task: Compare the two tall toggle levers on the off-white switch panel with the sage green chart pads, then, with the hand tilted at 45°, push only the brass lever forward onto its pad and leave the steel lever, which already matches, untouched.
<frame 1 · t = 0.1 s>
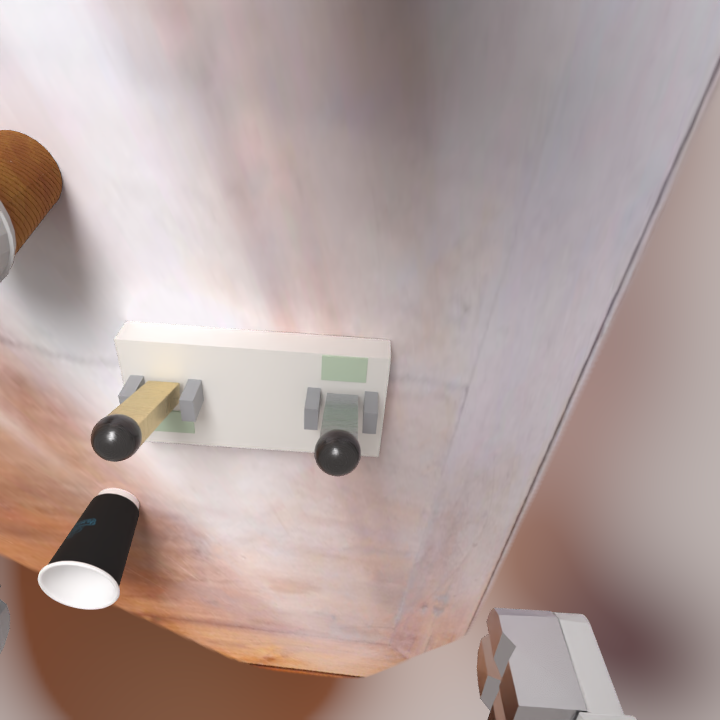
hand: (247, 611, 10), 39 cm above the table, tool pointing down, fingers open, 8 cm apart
switch panel: (260, 382, 56), on the table
steel lever: (339, 429, 46), point 10 cm above the table, hinge at -20.0°
dixie cup: (119, 500, 67), on the table
disposable coffee cup: (21, 171, 45), on the table
brass lever: (139, 415, 46), point 10 cm above the table, hinge at -20.0°
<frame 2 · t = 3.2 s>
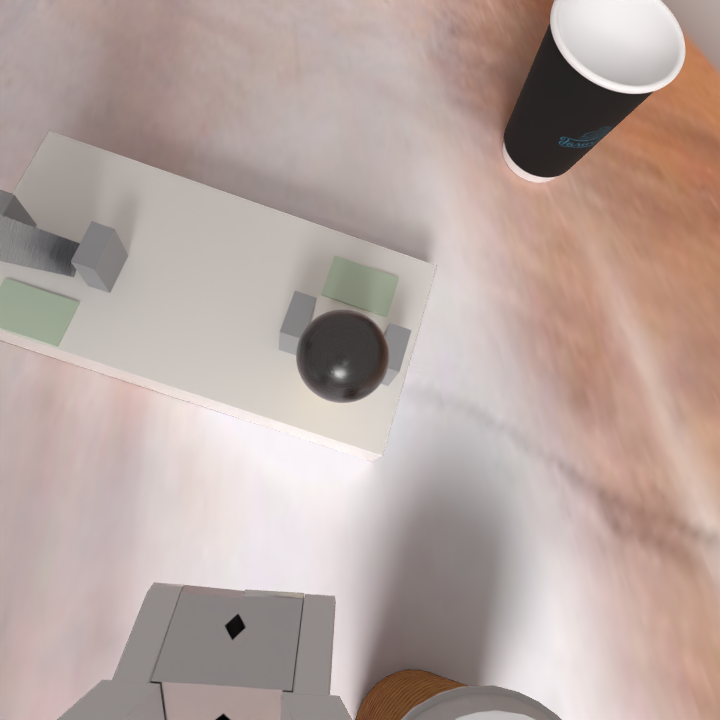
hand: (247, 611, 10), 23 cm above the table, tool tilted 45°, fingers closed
switch panel: (214, 306, 35), on the table
dixie cup: (532, 155, 42), on the table
brass lever: (341, 352, 25), point 10 cm above the table, hinge at -20.0°
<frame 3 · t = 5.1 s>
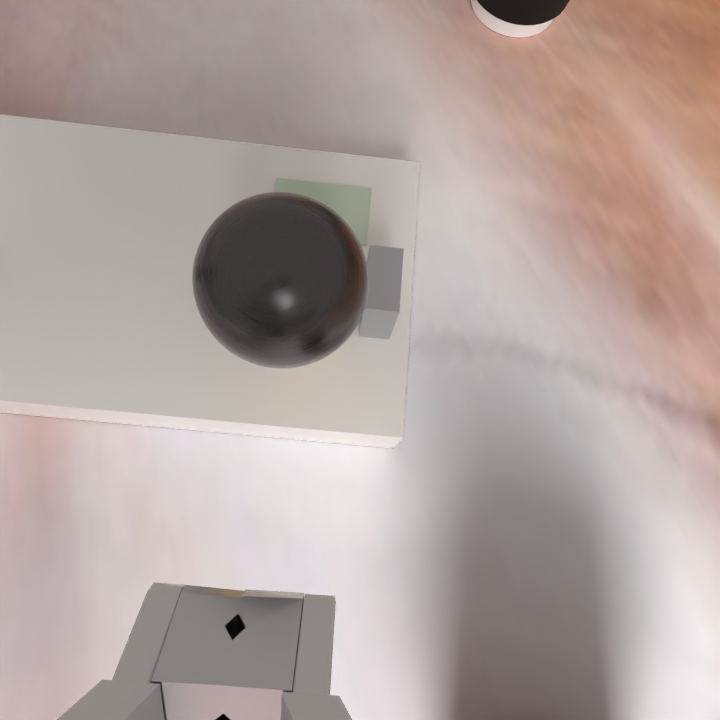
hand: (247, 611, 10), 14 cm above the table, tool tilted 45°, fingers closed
switch panel: (133, 288, 26), on the table
dixie cup: (512, 5, 32), on the table
brass lever: (298, 293, 16), point 10 cm above the table, hinge at -20.0°
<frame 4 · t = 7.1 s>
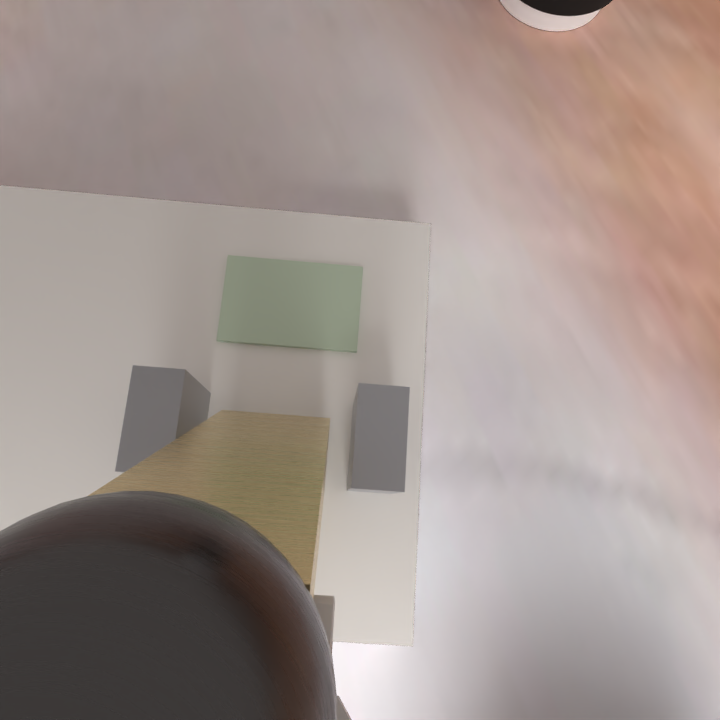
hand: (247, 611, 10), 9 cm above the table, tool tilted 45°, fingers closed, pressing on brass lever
switch panel: (42, 401, 19), on the table
brass lever: (228, 526, 9), point 10 cm above the table, hinge at -16.3°, touching gripper
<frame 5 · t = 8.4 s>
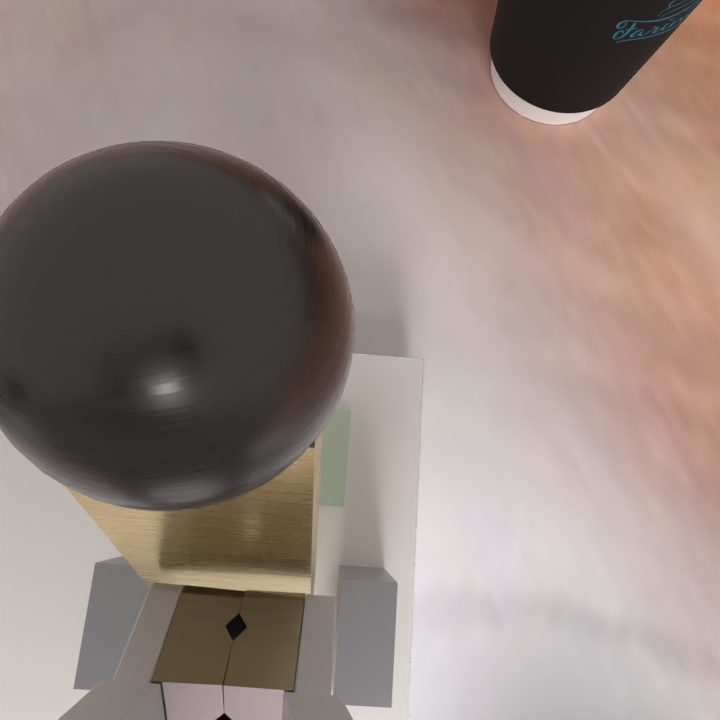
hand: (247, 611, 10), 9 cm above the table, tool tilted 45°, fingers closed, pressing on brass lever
switch panel: (11, 540, 18), on the table
dixie cup: (547, 76, 23), on the table
brass lever: (228, 503, 9), point 10 cm above the table, hinge at 21.6°, touching gripper
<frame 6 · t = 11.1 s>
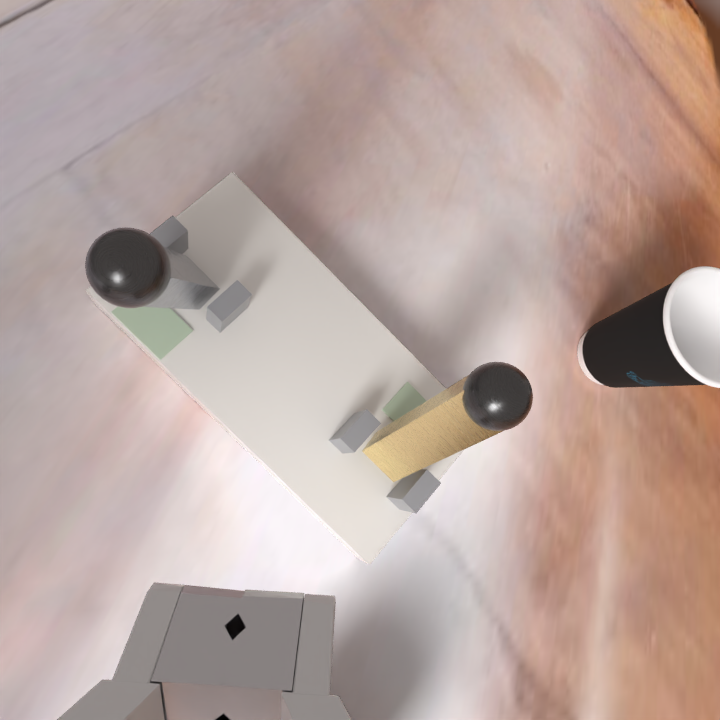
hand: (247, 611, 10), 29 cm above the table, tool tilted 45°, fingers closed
switch panel: (291, 370, 40), on the table
steel lever: (161, 275, 29), point 10 cm above the table, hinge at -20.0°
dixie cup: (600, 356, 47), on the table
brass lever: (442, 425, 32), point 10 cm above the table, hinge at 21.8°
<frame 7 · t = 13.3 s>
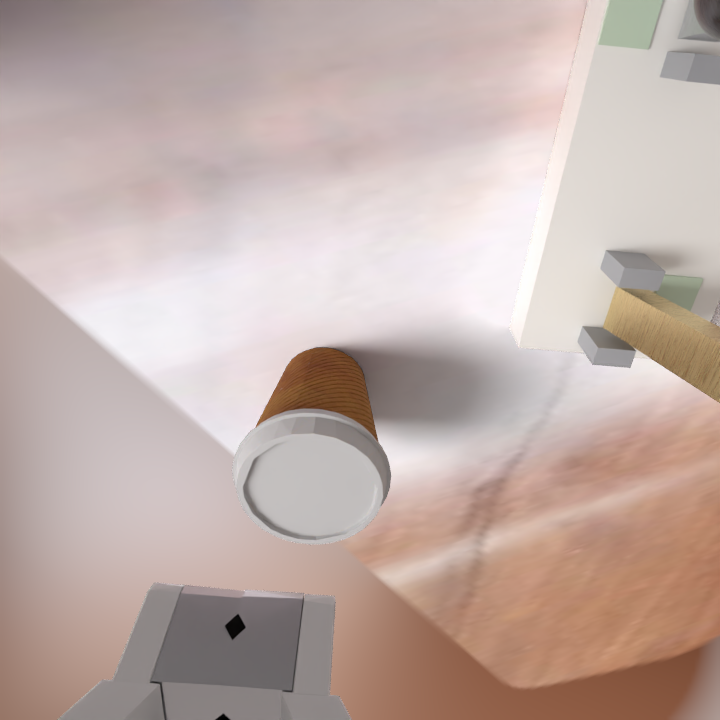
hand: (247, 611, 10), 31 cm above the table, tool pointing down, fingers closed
switch panel: (646, 163, 36), on the table
disposable coffee cup: (324, 382, 44), on the table
brass lever: (700, 352, 31), point 10 cm above the table, hinge at 21.8°
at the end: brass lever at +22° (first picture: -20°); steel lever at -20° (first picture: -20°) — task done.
